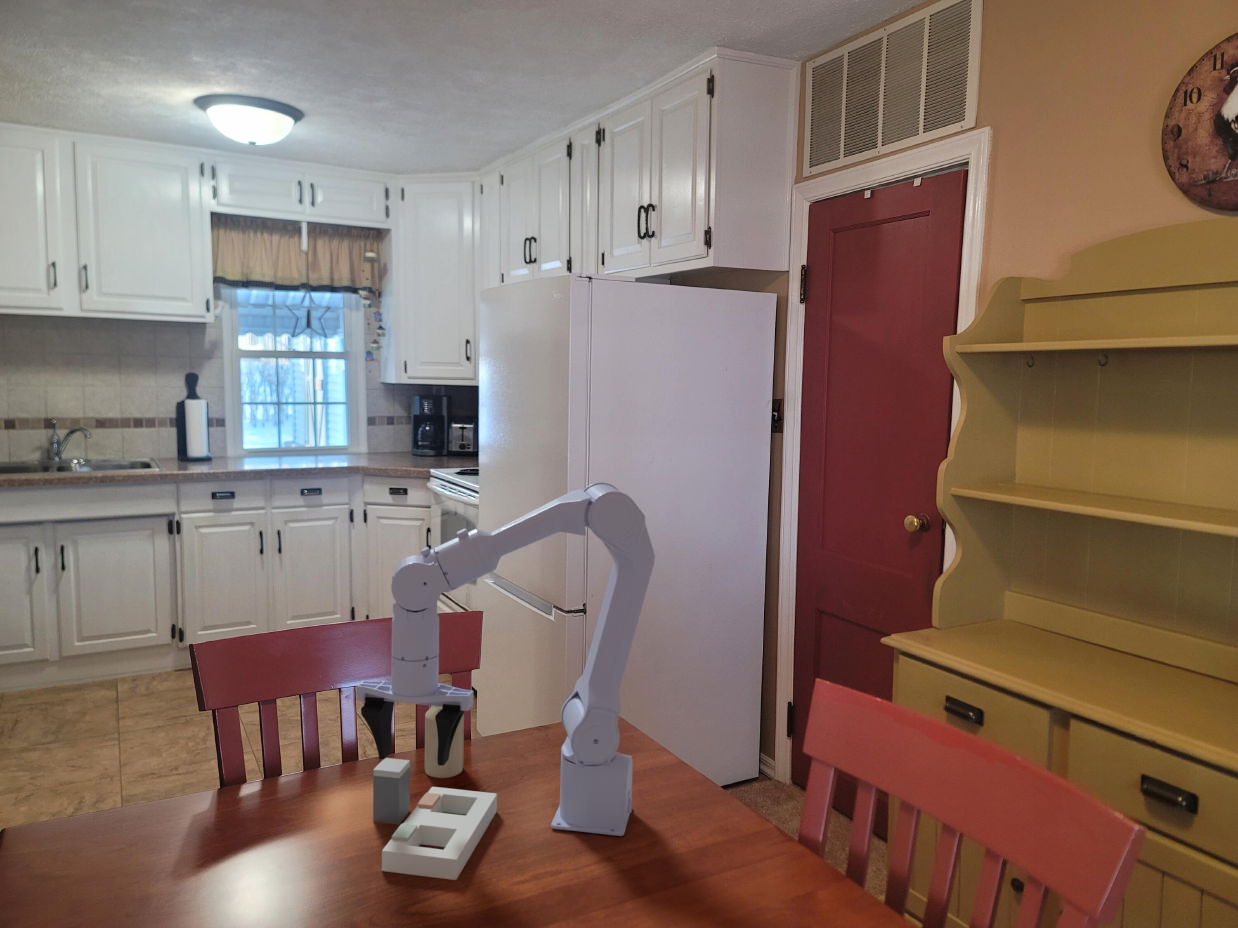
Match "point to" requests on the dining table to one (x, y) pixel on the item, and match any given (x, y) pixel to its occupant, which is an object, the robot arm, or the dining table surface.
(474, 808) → the socket strip
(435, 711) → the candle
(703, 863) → the dining table surface
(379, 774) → the plug
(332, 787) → the dining table surface
